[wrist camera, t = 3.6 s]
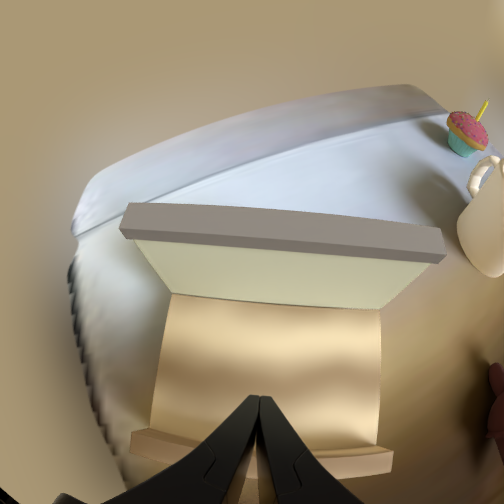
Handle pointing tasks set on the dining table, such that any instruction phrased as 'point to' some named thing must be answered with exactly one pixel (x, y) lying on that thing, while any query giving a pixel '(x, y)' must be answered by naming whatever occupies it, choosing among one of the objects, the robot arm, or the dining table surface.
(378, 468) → the cream and gold block
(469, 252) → the mug
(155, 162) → the dining table surface
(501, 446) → the icecream
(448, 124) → the cupcake
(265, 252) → the panel
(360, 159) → the dining table surface
